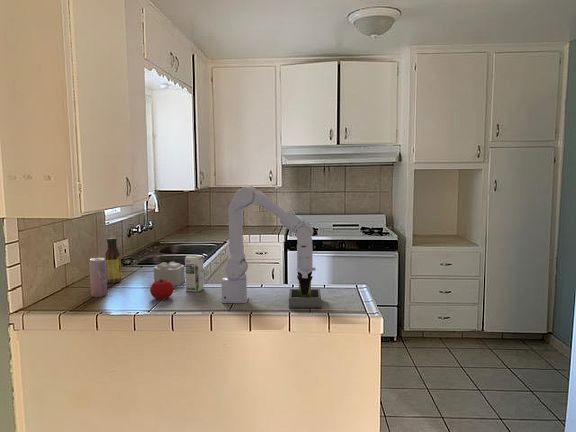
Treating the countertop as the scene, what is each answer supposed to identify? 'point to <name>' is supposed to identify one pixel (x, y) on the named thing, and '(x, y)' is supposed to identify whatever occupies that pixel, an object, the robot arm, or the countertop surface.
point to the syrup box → (194, 273)
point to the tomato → (161, 289)
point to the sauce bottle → (113, 261)
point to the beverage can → (98, 277)
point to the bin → (304, 300)
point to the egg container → (170, 273)
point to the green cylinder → (305, 294)
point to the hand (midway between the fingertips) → (304, 292)
